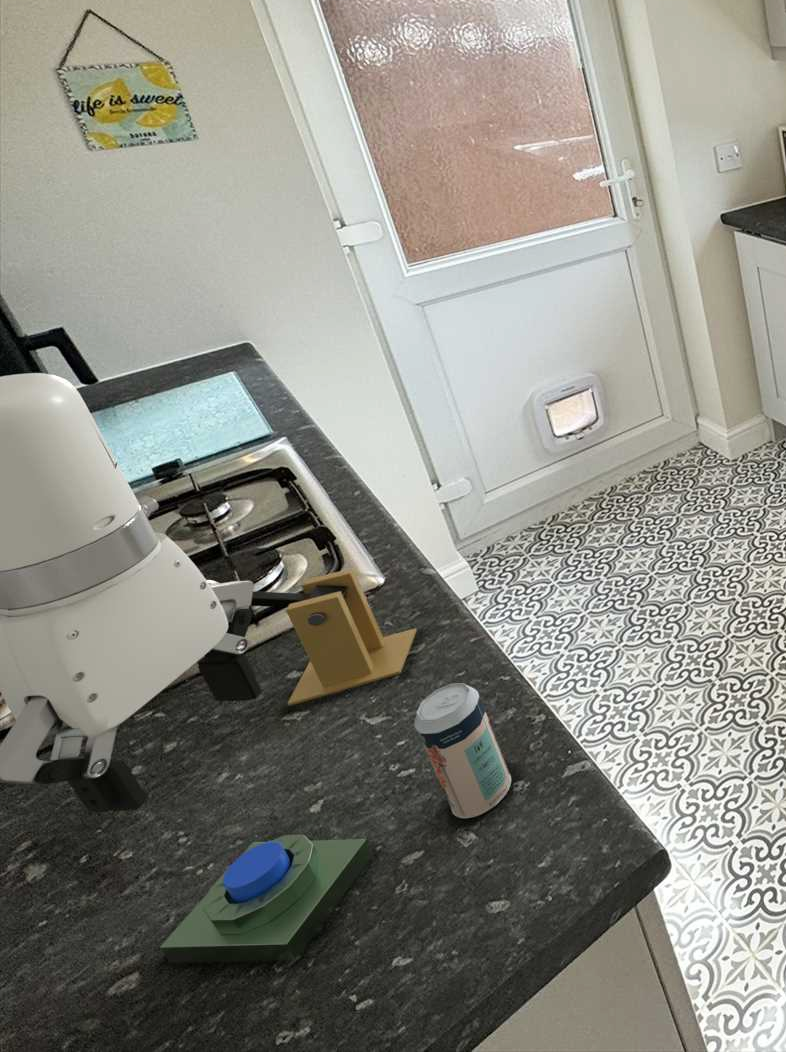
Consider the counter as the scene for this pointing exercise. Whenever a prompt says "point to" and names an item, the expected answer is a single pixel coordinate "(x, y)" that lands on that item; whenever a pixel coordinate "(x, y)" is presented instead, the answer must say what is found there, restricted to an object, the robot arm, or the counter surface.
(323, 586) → the black silver long piece
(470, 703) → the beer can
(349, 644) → the bracket
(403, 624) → the counter surface
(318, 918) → the button box
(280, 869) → the light button
